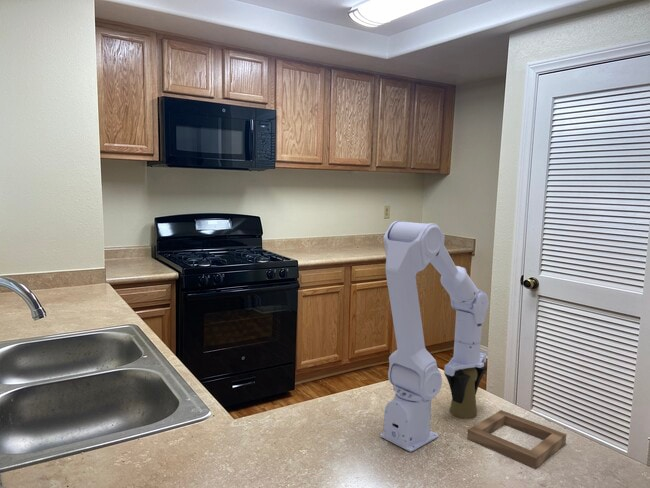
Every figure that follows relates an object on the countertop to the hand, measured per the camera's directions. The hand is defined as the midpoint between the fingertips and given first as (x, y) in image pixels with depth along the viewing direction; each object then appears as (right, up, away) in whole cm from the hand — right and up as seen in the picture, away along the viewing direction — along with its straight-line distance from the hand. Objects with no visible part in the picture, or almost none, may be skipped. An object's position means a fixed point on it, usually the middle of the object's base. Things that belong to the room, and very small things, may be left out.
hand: (463, 398), depth 109 cm
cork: (0, -4, 0) cm, 4 cm away
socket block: (+7, -5, -12) cm, 15 cm away
